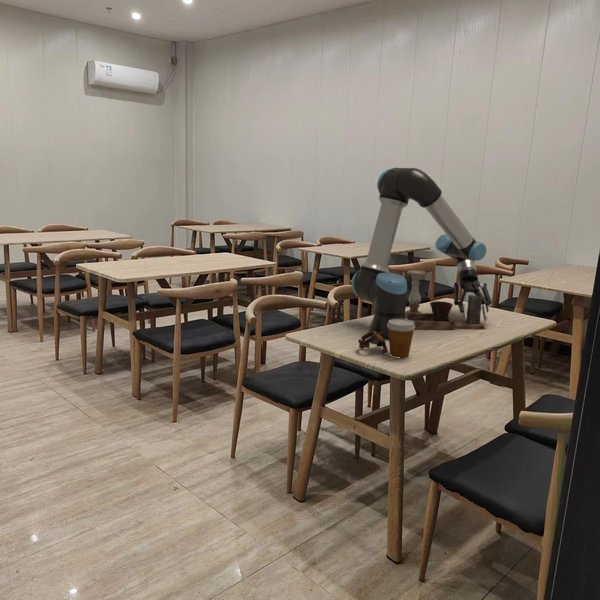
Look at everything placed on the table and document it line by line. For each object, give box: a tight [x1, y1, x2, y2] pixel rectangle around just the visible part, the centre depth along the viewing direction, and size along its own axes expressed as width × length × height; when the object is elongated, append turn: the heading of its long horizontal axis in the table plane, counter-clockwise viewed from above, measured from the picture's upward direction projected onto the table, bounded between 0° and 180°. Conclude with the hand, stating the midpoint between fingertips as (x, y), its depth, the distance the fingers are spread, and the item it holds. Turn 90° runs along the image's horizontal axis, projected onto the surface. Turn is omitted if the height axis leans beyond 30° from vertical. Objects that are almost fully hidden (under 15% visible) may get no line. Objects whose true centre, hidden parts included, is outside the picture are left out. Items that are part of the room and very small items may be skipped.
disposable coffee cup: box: [387, 318, 415, 359], centre depth 185 cm, size 10×10×12 cm
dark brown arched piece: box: [358, 331, 389, 354], centre depth 191 cm, size 12×10×8 cm
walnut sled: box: [406, 294, 485, 331], centre depth 224 cm, size 29×14×12 cm, turn 89°
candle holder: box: [405, 269, 426, 319], centre depth 236 cm, size 9×9×20 cm
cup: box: [429, 300, 454, 322], centre depth 224 cm, size 9×9×10 cm
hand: (475, 319), depth 221 cm, fingers open, 8 cm apart
